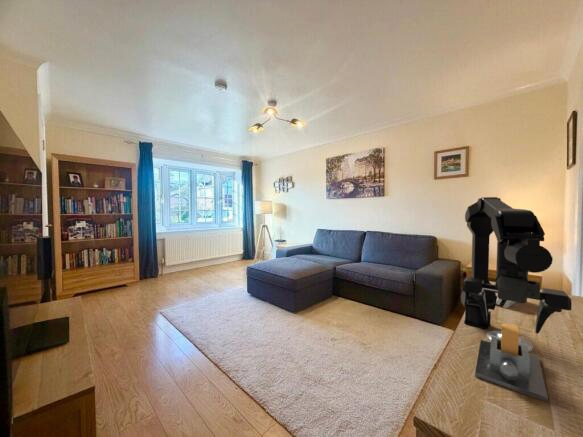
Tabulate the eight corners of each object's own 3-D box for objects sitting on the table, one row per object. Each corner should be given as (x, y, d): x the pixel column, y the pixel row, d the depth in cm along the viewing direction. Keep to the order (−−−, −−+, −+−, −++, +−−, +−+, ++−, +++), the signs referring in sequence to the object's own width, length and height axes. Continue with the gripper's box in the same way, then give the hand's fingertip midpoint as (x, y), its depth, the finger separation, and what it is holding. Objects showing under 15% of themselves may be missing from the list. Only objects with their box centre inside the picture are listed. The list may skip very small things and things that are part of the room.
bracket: (475, 376, 58) (475, 351, 58) (480, 342, 73) (481, 322, 73) (547, 402, 51) (548, 374, 50) (537, 358, 65) (538, 336, 65)
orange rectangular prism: (500, 368, 60) (501, 328, 59) (500, 361, 63) (501, 322, 62) (517, 374, 58) (518, 332, 57) (516, 365, 61) (517, 326, 60)
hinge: (504, 296, 111) (515, 277, 107) (517, 302, 107) (529, 283, 104) (490, 304, 101) (501, 284, 98) (504, 312, 98) (516, 291, 95)
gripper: (460, 262, 59) (459, 326, 60) (579, 276, 47) (575, 356, 47) (466, 256, 67) (464, 312, 68) (567, 266, 55) (564, 334, 56)
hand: (510, 326), depth 60 cm, fingers open, 9 cm apart
